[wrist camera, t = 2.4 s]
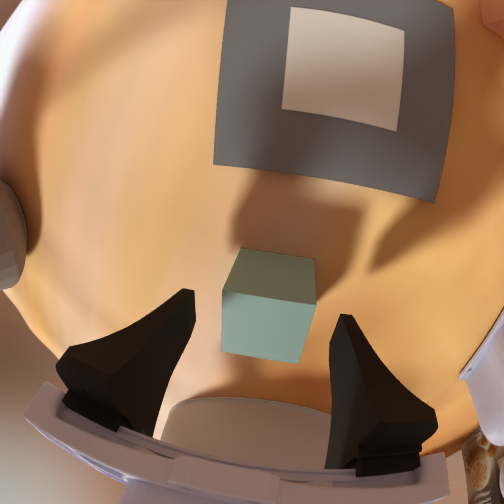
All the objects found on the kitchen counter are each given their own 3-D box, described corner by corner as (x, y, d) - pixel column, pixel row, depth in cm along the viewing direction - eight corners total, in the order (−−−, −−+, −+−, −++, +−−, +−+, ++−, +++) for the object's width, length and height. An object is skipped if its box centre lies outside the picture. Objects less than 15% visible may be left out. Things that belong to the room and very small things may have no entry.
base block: (301, 314, 17) (298, 363, 13) (237, 303, 17) (221, 350, 14) (314, 258, 15) (316, 305, 11) (241, 247, 15) (222, 290, 12)
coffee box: (484, 419, 21) (500, 509, 7) (512, 407, 20) (531, 489, 6) (459, 445, 26) (468, 521, 12) (486, 434, 24) (498, 506, 10)
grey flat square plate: (429, 199, 12) (434, 203, 11) (216, 162, 13) (212, 165, 12) (447, 11, 6) (453, 8, 6) (235, -32, 8) (232, -37, 7)
